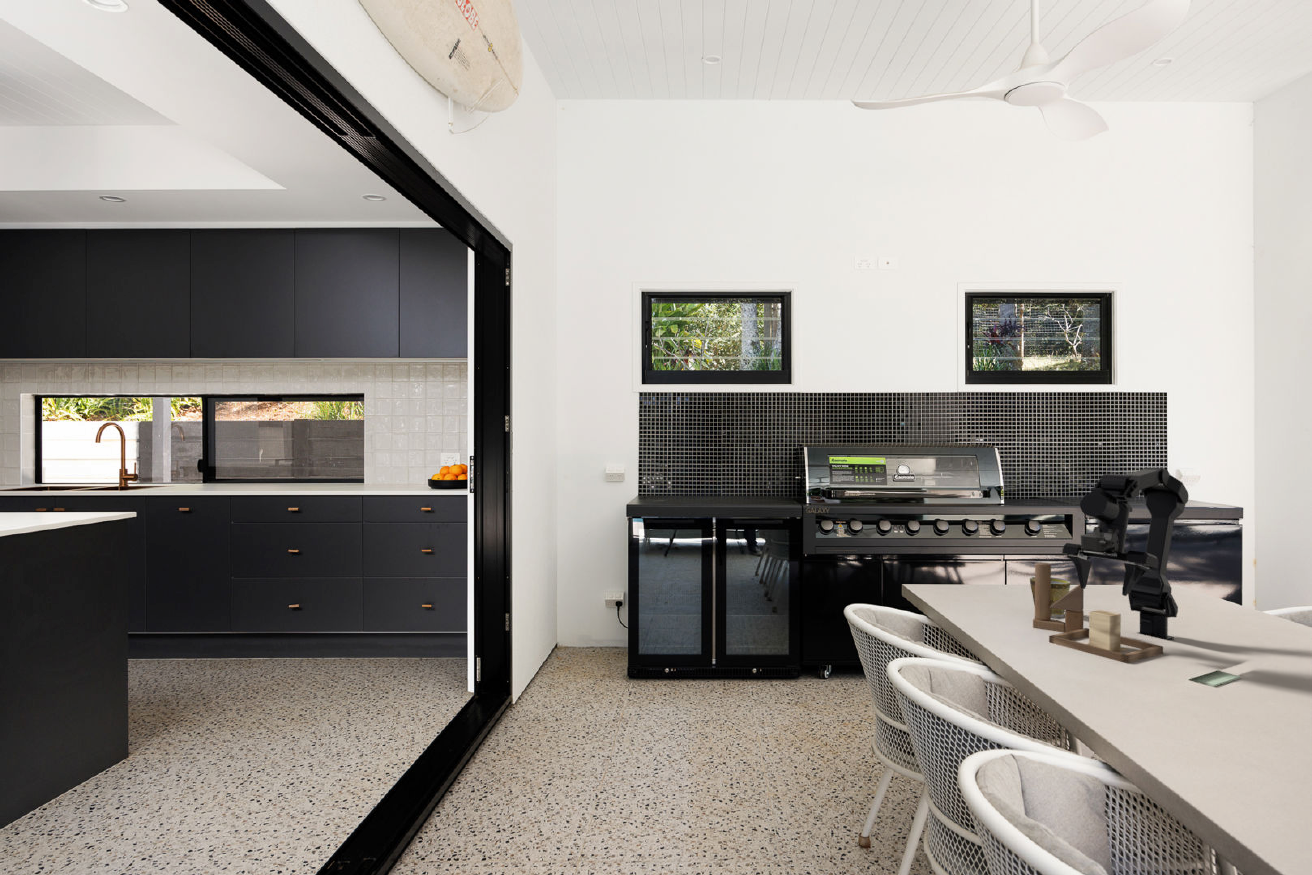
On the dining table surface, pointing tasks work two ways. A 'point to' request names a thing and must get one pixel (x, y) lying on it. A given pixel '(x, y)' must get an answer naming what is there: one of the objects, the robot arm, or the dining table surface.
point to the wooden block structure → (1056, 603)
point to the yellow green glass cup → (1054, 593)
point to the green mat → (1215, 678)
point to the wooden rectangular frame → (1066, 641)
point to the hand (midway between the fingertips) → (1103, 591)
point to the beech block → (1105, 630)
